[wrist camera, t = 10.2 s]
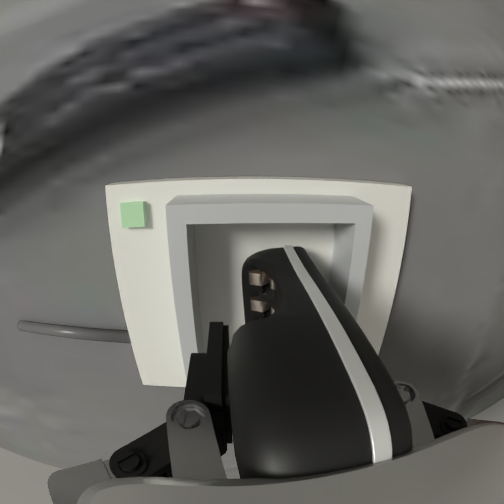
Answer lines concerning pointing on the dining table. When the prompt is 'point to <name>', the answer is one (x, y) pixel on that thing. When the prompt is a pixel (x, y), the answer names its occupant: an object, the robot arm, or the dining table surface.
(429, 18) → the dining table surface
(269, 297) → the battery charger
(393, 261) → the dock
